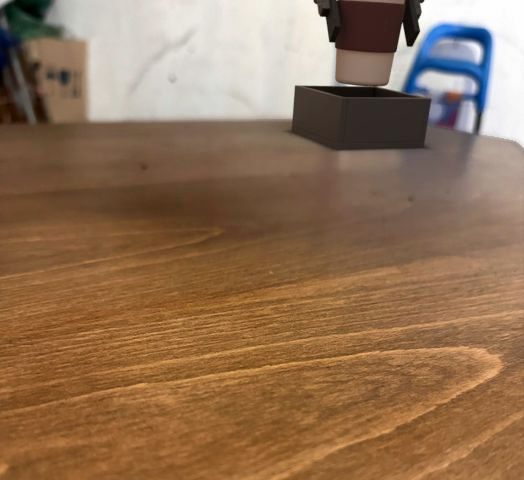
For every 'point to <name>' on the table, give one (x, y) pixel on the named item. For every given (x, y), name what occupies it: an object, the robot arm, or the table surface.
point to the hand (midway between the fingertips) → (374, 37)
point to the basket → (360, 117)
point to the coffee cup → (367, 40)
